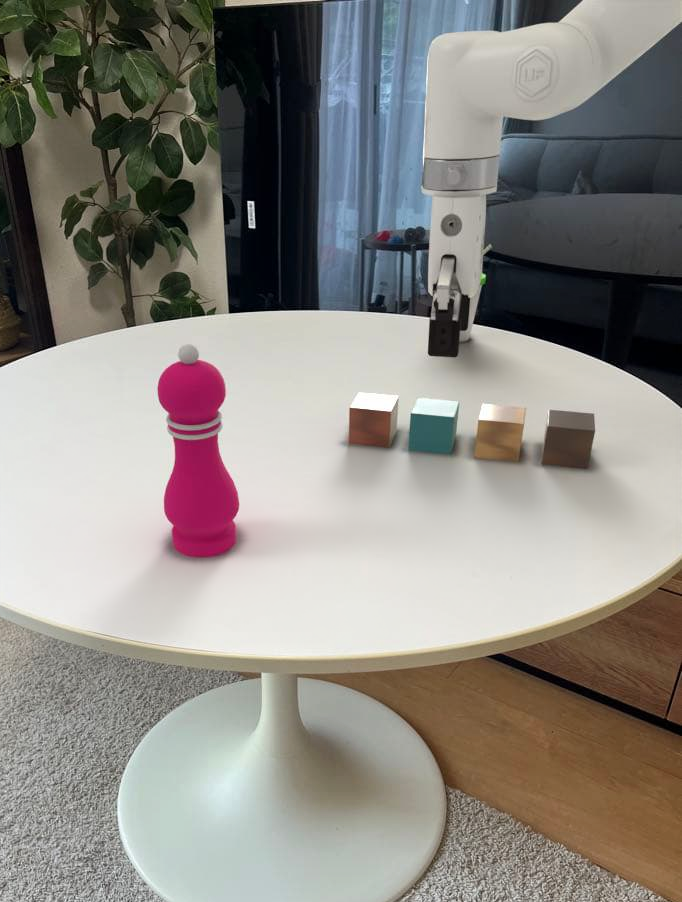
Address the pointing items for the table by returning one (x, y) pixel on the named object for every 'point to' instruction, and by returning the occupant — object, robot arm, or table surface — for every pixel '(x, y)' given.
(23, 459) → the table surface
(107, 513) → the table surface
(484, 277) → the cup
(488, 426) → the oak block
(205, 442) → the pepper mill
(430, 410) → the teal block
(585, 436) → the walnut block
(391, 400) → the cherry block
